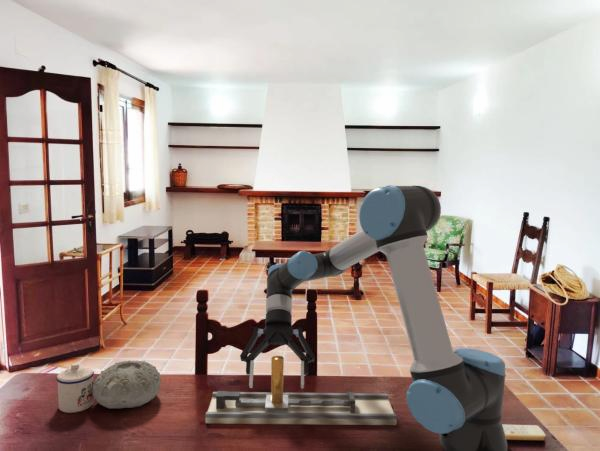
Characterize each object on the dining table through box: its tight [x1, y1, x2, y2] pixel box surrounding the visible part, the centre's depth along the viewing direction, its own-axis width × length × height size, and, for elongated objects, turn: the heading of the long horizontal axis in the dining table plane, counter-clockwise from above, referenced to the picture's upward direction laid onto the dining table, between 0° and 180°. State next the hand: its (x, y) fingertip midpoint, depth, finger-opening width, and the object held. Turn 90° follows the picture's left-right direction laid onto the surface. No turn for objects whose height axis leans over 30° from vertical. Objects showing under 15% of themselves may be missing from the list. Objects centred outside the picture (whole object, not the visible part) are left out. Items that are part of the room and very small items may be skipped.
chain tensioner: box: [235, 355, 350, 412], centre depth 125 cm, size 32×7×13 cm, turn 91°
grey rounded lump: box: [92, 360, 162, 410], centre depth 130 cm, size 18×18×10 cm
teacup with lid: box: [55, 362, 95, 414], centre depth 128 cm, size 12×9×12 cm
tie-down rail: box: [205, 390, 398, 426], centre depth 126 cm, size 49×12×5 cm, turn 91°
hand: (276, 386), depth 124 cm, fingers open, 13 cm apart
